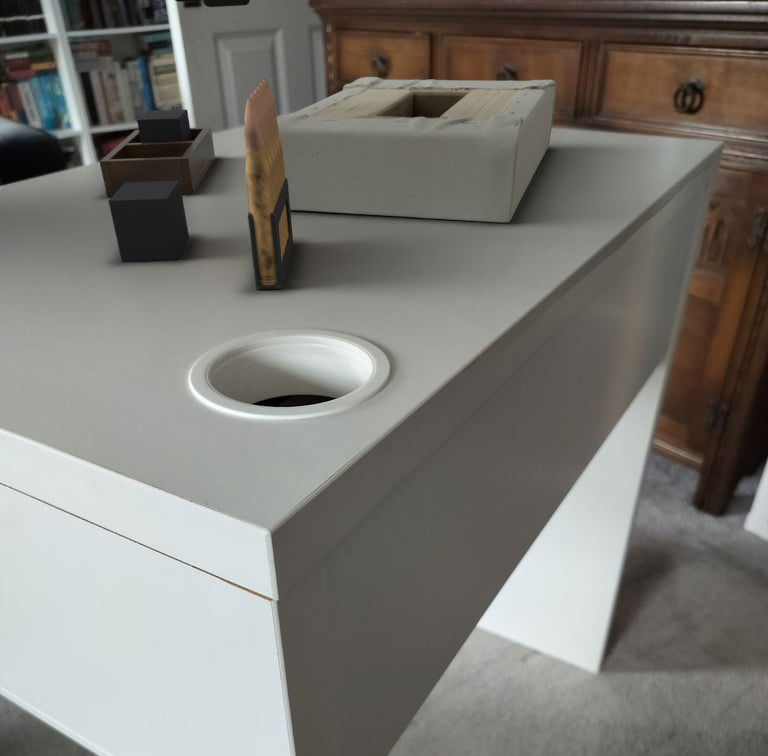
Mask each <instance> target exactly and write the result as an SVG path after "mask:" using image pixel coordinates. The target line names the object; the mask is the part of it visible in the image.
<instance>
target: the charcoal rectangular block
mask: <svg viewBox="0 0 768 756" xmlns="http://www.w3.org/2000/svg"><path fill="white" fill-rule="evenodd" d="M136 122H137V127H138V128H137V129H138V130H139V134H140V139H141V143H151V142H179V141H192V137H191V131H190V128H191V126H190V124H191V123H190V119H189V112H188V109H164V110H163V109H159V110H146V112H144V113H143V114H141V116H139V117H138V118H137V119H136Z"/></svg>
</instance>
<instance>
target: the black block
mask: <svg viewBox="0 0 768 756" xmlns="http://www.w3.org/2000/svg"><path fill="white" fill-rule="evenodd" d="M184 204H185V203H184V198H183V194H182V192H181V186H180V181H154V182H127V183H124V184H123V185H122V187H121V188H120V189H119V190H118V191H117V192H116V193H115V194H114V195H113V196H112V197H109V200H108V205H109V210H110V214H111V219H112V223H113V229H114V232H115V237H116V242H117V246H118V251H119V255H120V260H121V262H123V263H126V262H127V263H128V262H150V261H151V262H152V261H175V260H176V261H177V260H179V259H180V256H181V255H182V253H183V251H184V249H185V247H186V245H187V243H188V242H189V240H190V235H189V233H190V232H189V228H188V222H187V216H186V209H185V205H184Z"/></svg>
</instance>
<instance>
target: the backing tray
mask: <svg viewBox="0 0 768 756" xmlns="http://www.w3.org/2000/svg"><path fill="white" fill-rule="evenodd" d="M190 131H191V137H192V141H179V142H151V143H141V139H140V134H139V129H135V130H134V131H132V132H131V134H129V135H128V136H127V137H125V139H124V140H122V141H121V142H119V144H118V145H116V146H115V147H114V148H113V149H112V150H111V151H110V152H108V154H106V155H105V156H104V157H103V158H102V159H101V160H100V161H99V165H100V171H101V174H102V180H103V185H104V187H105V194H106V197H107V198H111V197H112V196H113V195H114V194H115V193H116V192H117V191H118V190H119V189H120V188H121V187H122V185H123V184H124V183H127V182H154V181H180V186H181V192H182V195H193V194H195V192H196V191H197V189H198V187H199V186H200V184H201V182H202V180H203V179H204V178H205V176H206V174H207V172H208V171H209V169H210V167H211V166H212V164H213V163H214V161H215V159H216V154H215V146H214V139H213V131H212V127H211V126H207V127H206V126H205V127H190Z"/></svg>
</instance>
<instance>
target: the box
mask: <svg viewBox="0 0 768 756" xmlns="http://www.w3.org/2000/svg"><path fill="white" fill-rule="evenodd" d="M557 88H558V83H557V81H555V80H553V79H531V80H473V79H472V80H461V79H460V80H459V79H458V80H457V79H455V80H453V79H434V78H430V79H418V78H417V79H416V78H415V79H383V78H381V77H379V76H365V77H360V78H357V79H356V80H354V81H352V82H350V83H346V84H344V85H343V87H342V90H340V91H338V92H336V93H334V94H332V95H330V96H328V97H326V98H324V99H322V100H319V101H317V102H315V103H313V104H310V105H308V106H306V107H303V108H302V109H300V110H297V111H295V112H293V113H289V114H282V115H279V116H276V117H277V122H278V130H279V135H280V139H281V143H282V150H283V160H284V170H285V178H287V179H288V190H289V201H290V211H306V212H320V213H337V214H353V215H369V216H371V215H372V216H373V215H374V216H385V217H386V216H387V217H388V216H389V217H403V218H404V217H405V218H421V219H437V220H456V221H466V222H467V221H468V222H469V221H471V222H487V223H509V222H511V220H512V219H513V216H514V215H515V212H516V210H517V208H518V206H519V204H520V202H521V200H522V198H523V197H524V195H525V192H526V191H527V189H528V187H529V185H530V183H531V181H532V179H533V177H534V176H535V173H536V171H537V170H538V167H539V166H540V163H541V162H542V160H543V159H544V156H545V154H546V152H547V150H548V148H549V146H550V142H551V136H552V128H553V122H554V115H555V108H556V98H557Z"/></svg>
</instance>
